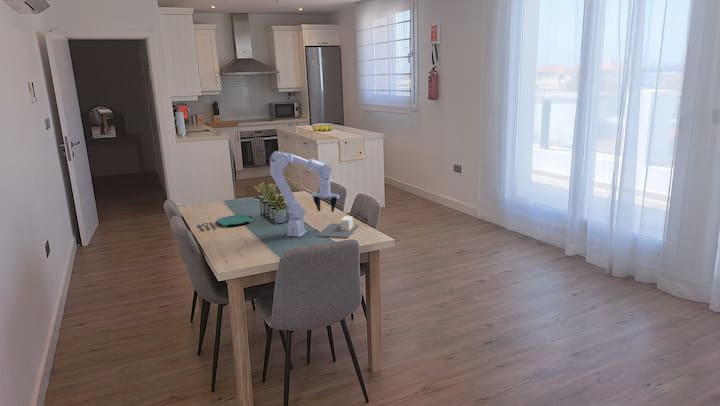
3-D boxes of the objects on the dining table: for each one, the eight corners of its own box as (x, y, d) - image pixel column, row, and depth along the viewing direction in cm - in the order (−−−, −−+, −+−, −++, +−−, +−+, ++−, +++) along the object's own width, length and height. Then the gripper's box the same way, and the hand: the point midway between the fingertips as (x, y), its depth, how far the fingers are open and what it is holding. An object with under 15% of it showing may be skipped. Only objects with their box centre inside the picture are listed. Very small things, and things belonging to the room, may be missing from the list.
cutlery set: (257, 223, 277) (256, 219, 277) (202, 233, 264) (201, 229, 263) (247, 216, 294) (246, 212, 294) (195, 225, 281) (194, 221, 280)
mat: (347, 238, 247) (347, 237, 247) (317, 236, 252) (317, 235, 251) (358, 225, 268) (358, 224, 268) (330, 224, 272) (330, 223, 272)
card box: (352, 225, 267) (352, 216, 266) (349, 229, 259) (348, 220, 258) (344, 225, 268) (344, 216, 267) (340, 229, 260) (340, 220, 259)
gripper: (340, 185, 262) (341, 209, 265) (314, 184, 266) (315, 208, 269) (336, 187, 255) (337, 213, 258) (309, 186, 259) (311, 211, 262)
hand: (326, 211), depth 263 cm, fingers open, 7 cm apart
